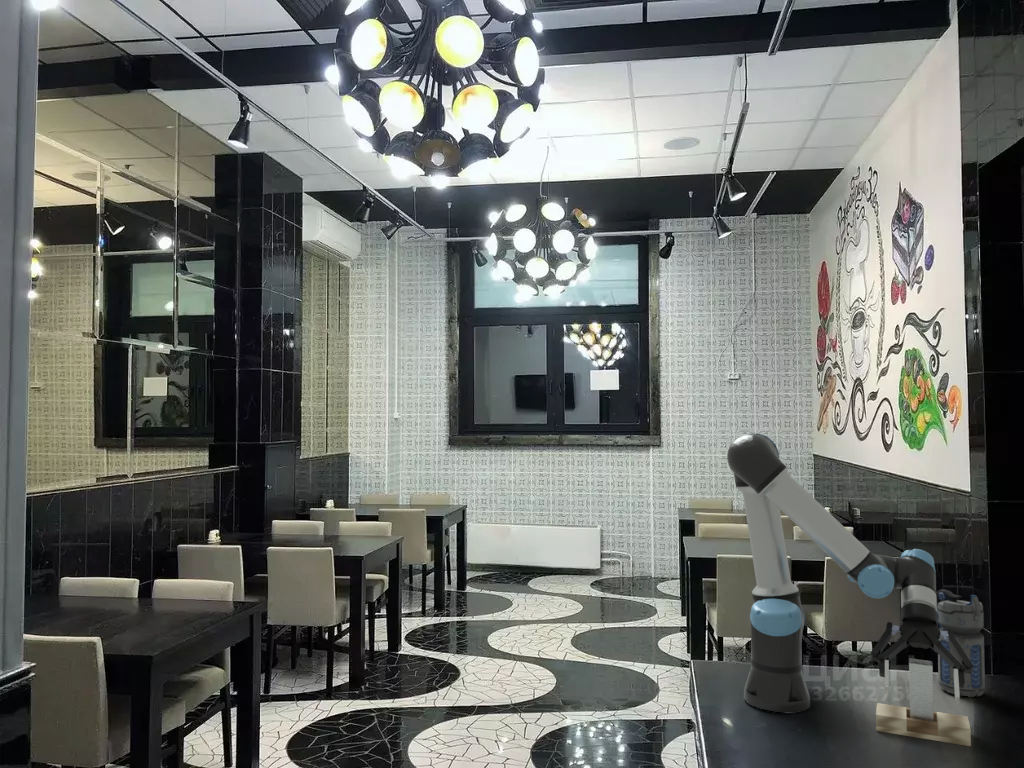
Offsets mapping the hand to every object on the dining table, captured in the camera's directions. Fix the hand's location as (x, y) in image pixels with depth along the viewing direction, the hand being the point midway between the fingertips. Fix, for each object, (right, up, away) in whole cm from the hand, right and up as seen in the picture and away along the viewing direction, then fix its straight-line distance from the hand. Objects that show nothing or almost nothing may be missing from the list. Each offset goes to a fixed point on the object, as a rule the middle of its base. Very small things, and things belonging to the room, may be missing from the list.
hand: (921, 695), depth 171 cm
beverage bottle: (+24, -10, +28) cm, 38 cm away
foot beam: (+1, -9, +2) cm, 9 cm away
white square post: (+1, -8, +2) cm, 8 cm away
